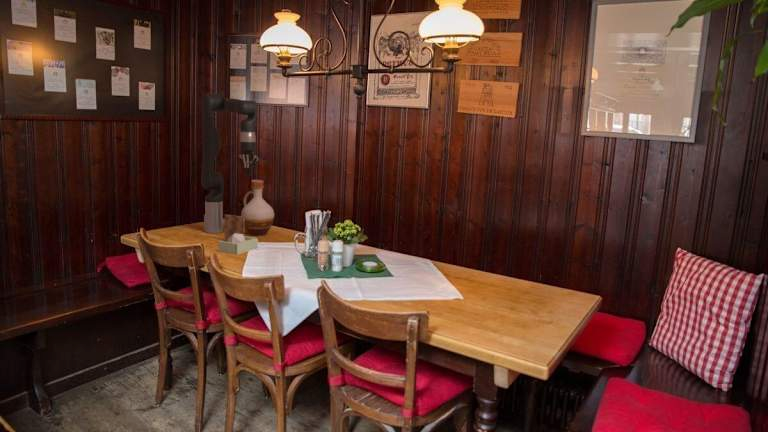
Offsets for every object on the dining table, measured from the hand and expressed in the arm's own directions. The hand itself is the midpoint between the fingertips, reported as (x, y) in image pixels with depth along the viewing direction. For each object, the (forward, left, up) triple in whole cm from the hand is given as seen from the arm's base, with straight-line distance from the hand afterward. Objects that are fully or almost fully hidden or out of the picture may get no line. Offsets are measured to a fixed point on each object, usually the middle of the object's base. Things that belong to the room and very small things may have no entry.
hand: (248, 175), depth 291 cm
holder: (+5, -15, -35) cm, 38 cm away
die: (+4, -15, -35) cm, 38 cm away
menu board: (-6, -4, -35) cm, 36 cm away
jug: (-9, +18, -35) cm, 41 cm away
